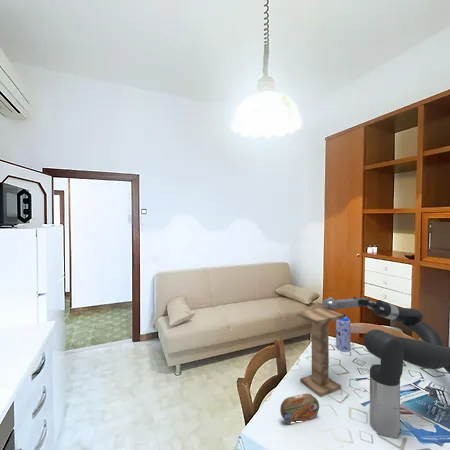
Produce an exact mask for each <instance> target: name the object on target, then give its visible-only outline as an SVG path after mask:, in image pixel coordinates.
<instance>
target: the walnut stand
mask: <svg viewBox="0 0 450 450" xmlns="http://www.w3.org/2000/svg"><path fill="white" fill-rule="evenodd" d="M343 314H344V313H341V312H340V313H339V312H337V311H335V310H327V309H325V308H323V306H322V307H318V308H313V309H307V310H303V311H297V312H296V317H299V318H301V319H303V320H305V321H308V322H309V323H311V374H310V375H307V376H304V377H302V378H300V379H299V380H300V381H299V382H300V383H301V384H302V385H303V386H305V387H306V388H308V390H310V391H312V392H313V393H314V394H316V395H317V396H318V397H320V398H322V397H325V396H326V395H329V394H332V393H334V392H337V391H340V390H342V387H341V386H342V385H341V384H340V383H337V382H336V381H334V380H332V379H331V378H330V376H329V366H330V365H329V359H330V357H329V354H330V353H329V343H330V342H329V337H330V336H329V331H330V329H329V323H331V322H334V321H335V322H336V320H339V319H344V315H343Z"/></svg>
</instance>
